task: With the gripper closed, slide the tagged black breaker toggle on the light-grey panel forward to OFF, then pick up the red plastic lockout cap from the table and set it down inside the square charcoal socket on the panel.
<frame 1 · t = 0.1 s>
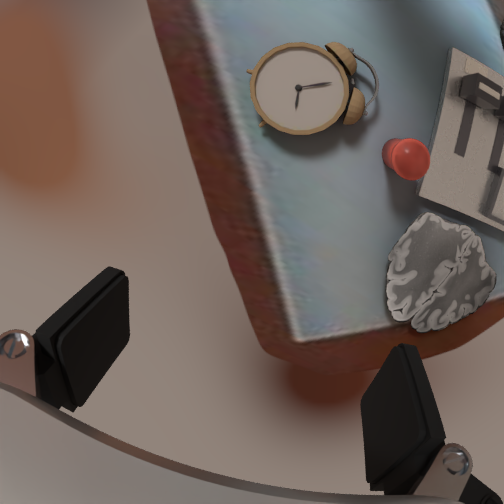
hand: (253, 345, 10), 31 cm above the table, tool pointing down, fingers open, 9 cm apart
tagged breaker: (481, 91, 25), point 4 cm above the table, slide at 0.0 cm
alarm clock: (314, 88, 34), on the table
lockout cap: (396, 154, 35), on the table
brain slice: (434, 272, 40), on the table
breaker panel: (487, 144, 31), on the table
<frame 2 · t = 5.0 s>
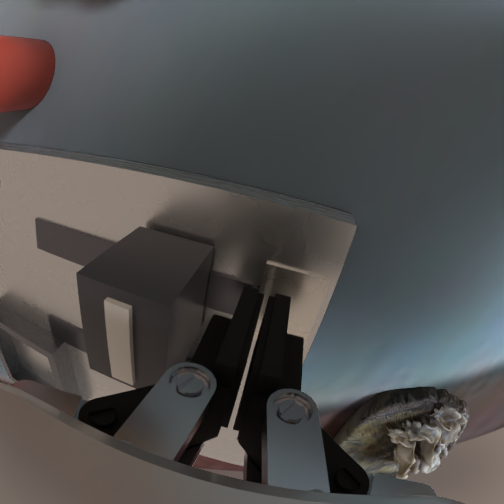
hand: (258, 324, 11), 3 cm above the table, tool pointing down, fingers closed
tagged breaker: (147, 310, 10), point 4 cm above the table, slide at 1.2 cm, touching gripper
grey rough lump: (395, 433, 17), on the table
lockout cap: (31, 74, 11), on the table
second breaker: (172, 414, 13), point 4 cm above the table, slide at 0.0 cm
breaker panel: (108, 318, 16), on the table
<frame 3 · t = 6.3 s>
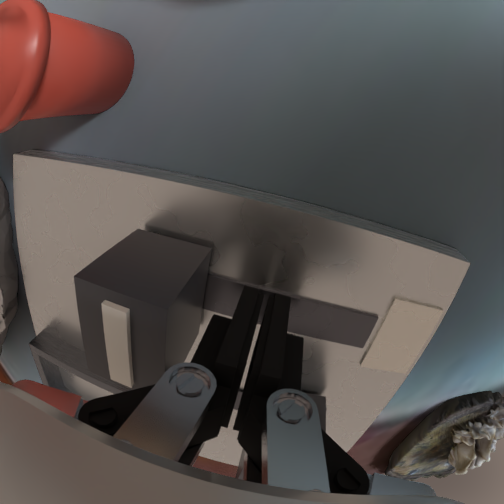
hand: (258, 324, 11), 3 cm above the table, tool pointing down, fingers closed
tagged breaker: (145, 312, 10), point 4 cm above the table, slide at 6.3 cm, touching gripper
grey rough lump: (449, 434, 17), on the table
lockout cap: (97, 71, 11), on the table
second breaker: (279, 445, 12), point 4 cm above the table, slide at 0.0 cm
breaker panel: (191, 350, 16), on the table
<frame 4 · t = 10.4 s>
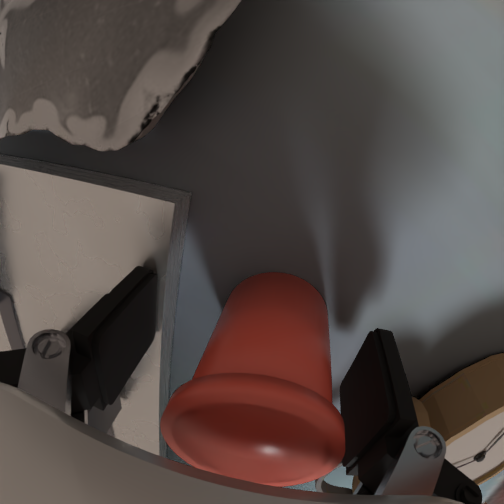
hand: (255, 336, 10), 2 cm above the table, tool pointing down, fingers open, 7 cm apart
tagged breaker: (64, 402, 11), point 4 cm above the table, slide at 6.3 cm
alarm clock: (439, 422, 14), on the table
lockout cap: (276, 318, 12), on the table
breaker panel: (40, 331, 15), on the table
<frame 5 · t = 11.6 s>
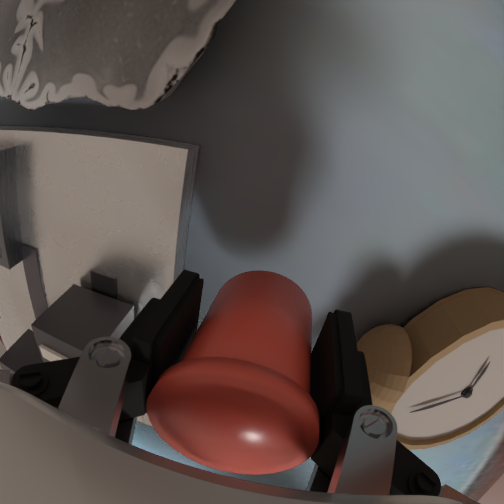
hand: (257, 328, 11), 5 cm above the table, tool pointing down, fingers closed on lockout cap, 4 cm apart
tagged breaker: (85, 338, 14), point 4 cm above the table, slide at 6.3 cm
alarm clock: (426, 361, 17), on the table
lockout cap: (262, 315, 13), point 3 cm above the table, touching gripper
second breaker: (36, 368, 17), point 4 cm above the table, slide at 0.0 cm
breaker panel: (60, 285, 18), on the table
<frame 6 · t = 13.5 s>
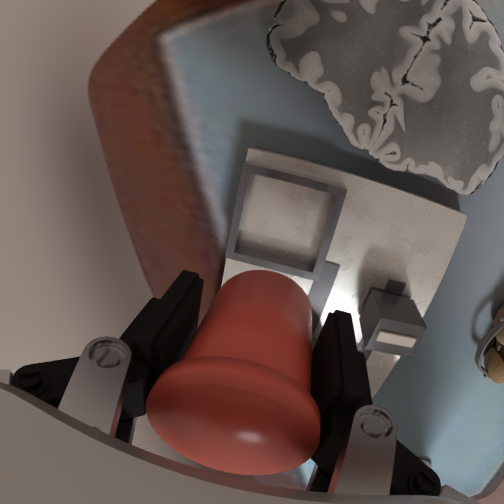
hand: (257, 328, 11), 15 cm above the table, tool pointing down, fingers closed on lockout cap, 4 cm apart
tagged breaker: (391, 323, 22), point 4 cm above the table, slide at 6.3 cm
lockout cap: (262, 314, 12), point 13 cm above the table, touching gripper
brain slice: (404, 62, 18), on the table
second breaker: (297, 365, 25), point 4 cm above the table, slide at 0.0 cm
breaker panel: (327, 293, 27), on the table
when the fingers open (4 cm above the table, at t = 15.8 s): lockout cap stays where it is, resting on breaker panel.
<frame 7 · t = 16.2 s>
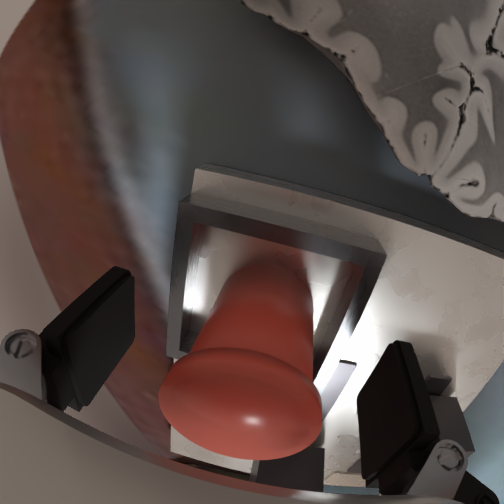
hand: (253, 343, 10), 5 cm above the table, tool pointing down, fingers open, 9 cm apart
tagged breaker: (424, 440, 12), point 4 cm above the table, slide at 6.3 cm
grey rough lump: (222, 481, 25), on the table
lockout cap: (265, 306, 13), point 2 cm above the table, touching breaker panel
brain slice: (470, 25, 8), on the table
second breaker: (284, 478, 15), point 4 cm above the table, slide at 0.0 cm
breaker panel: (333, 388, 16), on the table
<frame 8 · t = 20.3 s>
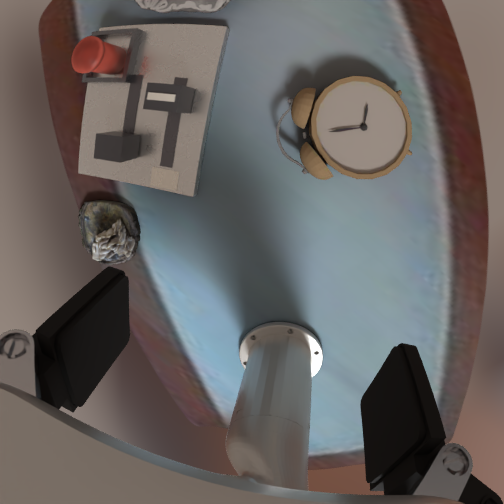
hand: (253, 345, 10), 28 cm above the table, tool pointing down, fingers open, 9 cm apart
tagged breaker: (168, 98, 30), point 4 cm above the table, slide at 6.3 cm
alarm clock: (342, 128, 33), on the table
grey rough lump: (110, 229, 43), on the table
lockout cap: (113, 60, 31), point 2 cm above the table, touching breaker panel
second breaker: (117, 145, 33), point 4 cm above the table, slide at 0.0 cm
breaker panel: (145, 102, 34), on the table
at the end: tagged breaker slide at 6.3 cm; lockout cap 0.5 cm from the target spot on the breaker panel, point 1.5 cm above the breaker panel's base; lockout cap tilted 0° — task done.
